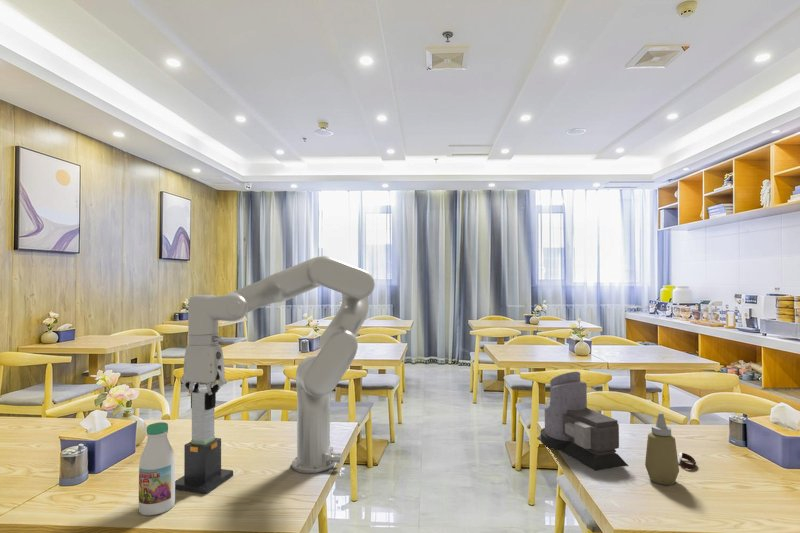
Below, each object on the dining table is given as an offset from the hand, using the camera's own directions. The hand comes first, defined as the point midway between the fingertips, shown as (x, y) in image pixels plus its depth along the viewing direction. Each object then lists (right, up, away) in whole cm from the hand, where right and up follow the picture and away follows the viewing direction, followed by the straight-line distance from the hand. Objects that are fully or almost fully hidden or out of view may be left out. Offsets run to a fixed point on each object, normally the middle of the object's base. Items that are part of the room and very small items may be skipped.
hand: (203, 407), depth 123 cm
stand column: (0, -13, 0) cm, 13 cm away
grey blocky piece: (+110, -20, +22) cm, 114 cm away
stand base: (0, -20, 0) cm, 20 cm away
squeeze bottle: (+124, -20, -1) cm, 126 cm away
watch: (+137, -20, +9) cm, 139 cm away
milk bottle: (-5, -20, -14) cm, 25 cm away
